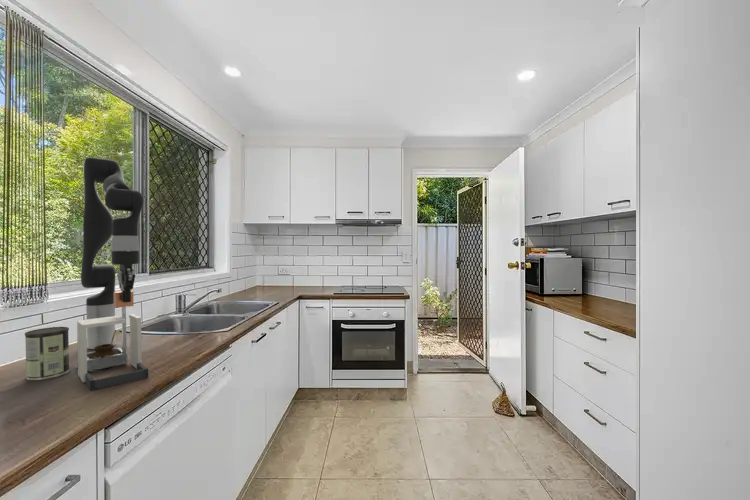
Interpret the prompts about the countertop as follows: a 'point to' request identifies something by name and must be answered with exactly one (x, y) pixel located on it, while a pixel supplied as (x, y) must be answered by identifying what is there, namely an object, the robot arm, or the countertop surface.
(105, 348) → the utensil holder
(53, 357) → the coffee can
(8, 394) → the countertop surface
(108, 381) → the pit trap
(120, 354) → the slider
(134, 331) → the white and grey frame
